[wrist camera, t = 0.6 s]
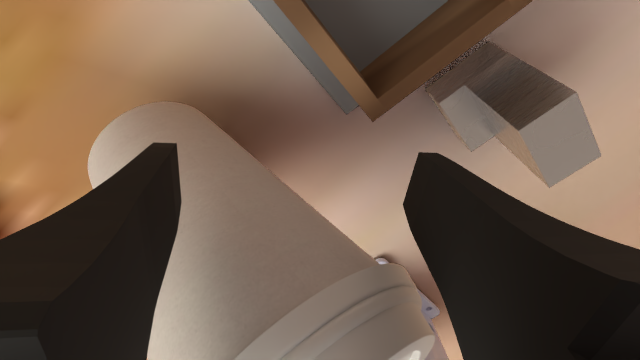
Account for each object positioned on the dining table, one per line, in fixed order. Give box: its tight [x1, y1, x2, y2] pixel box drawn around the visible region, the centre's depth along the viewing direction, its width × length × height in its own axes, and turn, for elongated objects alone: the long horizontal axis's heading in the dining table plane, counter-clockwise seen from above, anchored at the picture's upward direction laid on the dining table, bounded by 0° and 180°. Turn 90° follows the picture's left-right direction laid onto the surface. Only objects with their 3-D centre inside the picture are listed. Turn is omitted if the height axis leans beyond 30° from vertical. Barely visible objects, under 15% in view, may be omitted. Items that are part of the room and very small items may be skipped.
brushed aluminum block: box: [426, 41, 601, 188], centre depth 20 cm, size 4×4×7 cm
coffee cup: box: [88, 101, 435, 360], centre depth 16 cm, size 10×10×15 cm
